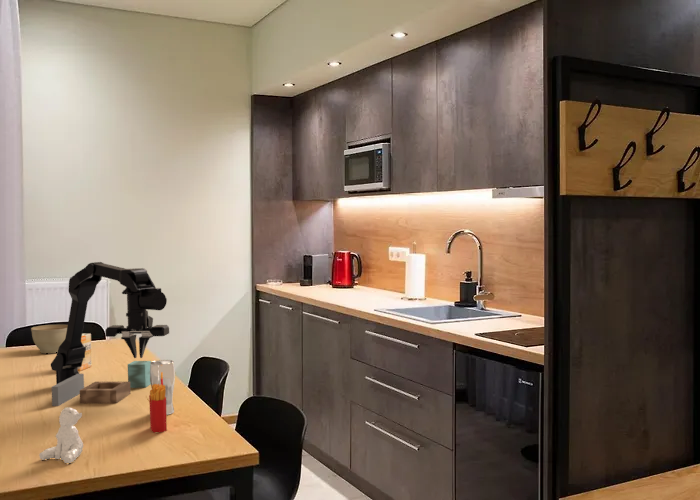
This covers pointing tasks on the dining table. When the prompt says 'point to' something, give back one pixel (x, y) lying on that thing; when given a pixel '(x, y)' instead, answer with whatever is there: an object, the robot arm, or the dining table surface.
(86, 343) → the supplement box
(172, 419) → the dining table surface
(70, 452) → the sitting furry creature
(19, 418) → the dining table surface
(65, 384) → the slab
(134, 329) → the robot arm
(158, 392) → the french fries
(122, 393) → the brown square frame
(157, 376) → the beer glass
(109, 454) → the dining table surface
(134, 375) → the pale teal cube
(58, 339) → the planter bowl
